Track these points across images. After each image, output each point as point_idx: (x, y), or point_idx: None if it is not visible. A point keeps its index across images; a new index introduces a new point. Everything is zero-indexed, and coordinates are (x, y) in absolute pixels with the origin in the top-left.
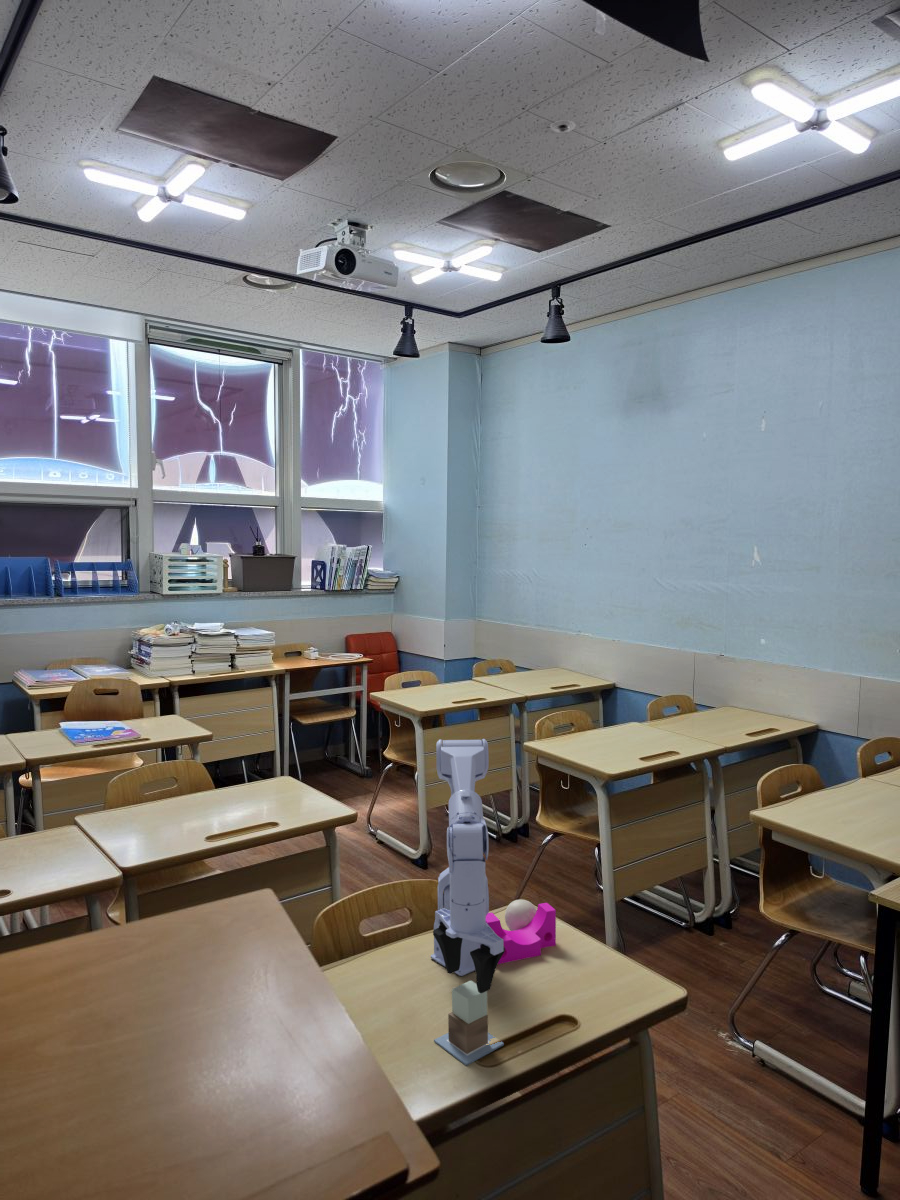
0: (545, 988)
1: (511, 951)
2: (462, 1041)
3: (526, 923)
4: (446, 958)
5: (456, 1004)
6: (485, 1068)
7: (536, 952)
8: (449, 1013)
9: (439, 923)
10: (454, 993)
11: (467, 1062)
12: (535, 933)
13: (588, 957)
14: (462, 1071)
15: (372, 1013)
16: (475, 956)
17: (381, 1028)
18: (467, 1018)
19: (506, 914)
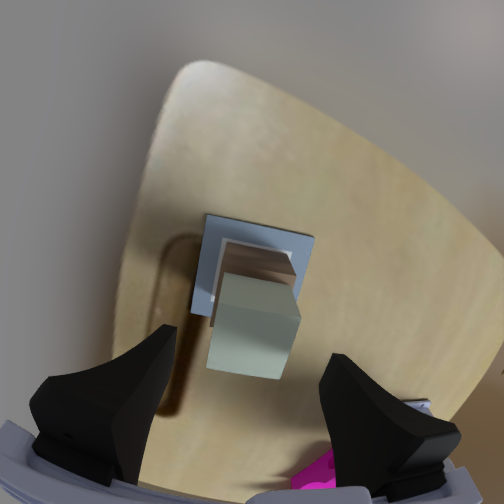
0: (238, 445)
1: (322, 469)
2: (239, 250)
3: None
4: (357, 382)
5: (276, 295)
6: (172, 232)
7: (295, 479)
8: (294, 278)
9: (446, 476)
10: (287, 310)
11: (208, 220)
12: None
13: (235, 492)
14: (203, 195)
15: (452, 236)
16: (64, 398)
17: (420, 209)
18: (226, 277)
19: None
